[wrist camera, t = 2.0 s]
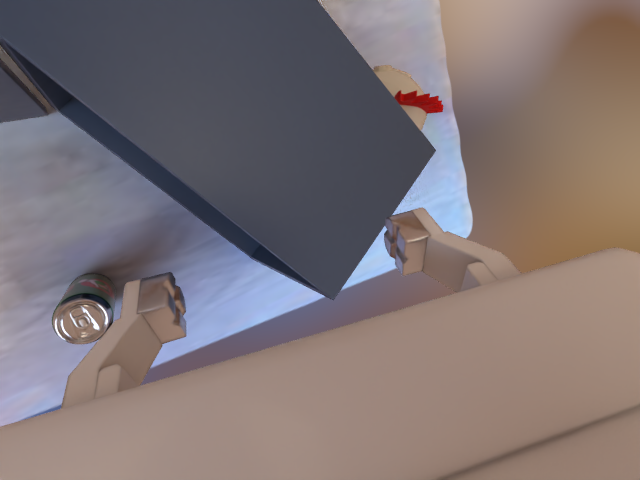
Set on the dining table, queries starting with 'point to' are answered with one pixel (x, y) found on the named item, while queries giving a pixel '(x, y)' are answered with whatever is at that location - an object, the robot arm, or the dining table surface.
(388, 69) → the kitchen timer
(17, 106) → the cupboard door
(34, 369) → the dining table surface
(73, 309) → the soda can
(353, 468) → the robot arm
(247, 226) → the cupboard
